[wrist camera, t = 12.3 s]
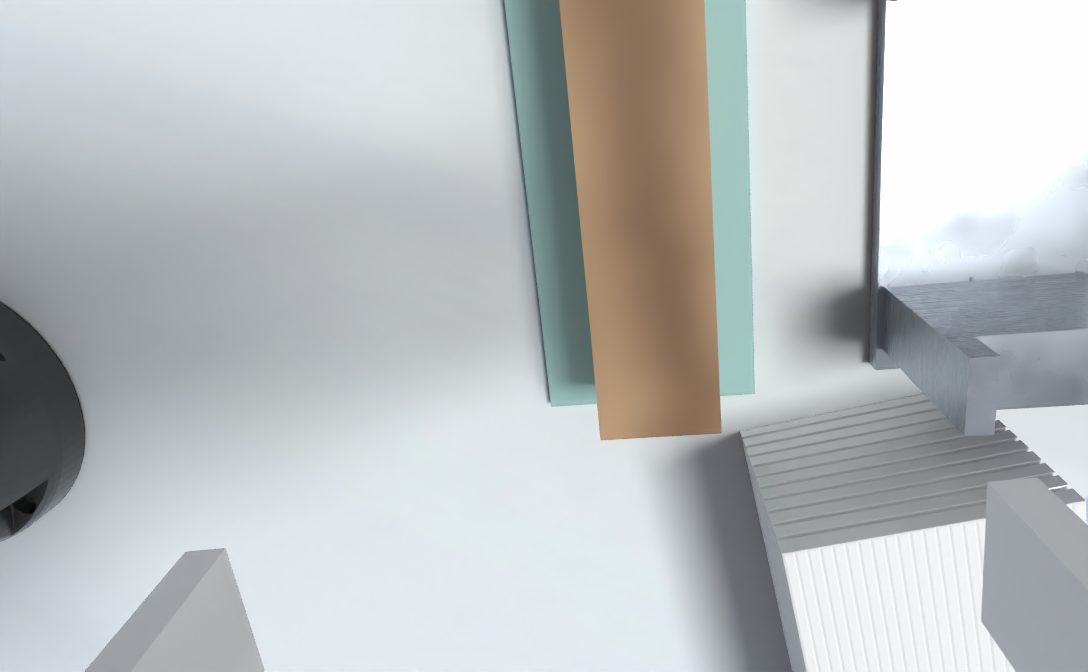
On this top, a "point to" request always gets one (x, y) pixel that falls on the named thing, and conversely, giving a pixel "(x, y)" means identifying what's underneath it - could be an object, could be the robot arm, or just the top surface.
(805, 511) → the stack of papers
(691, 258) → the rail
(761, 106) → the top surface
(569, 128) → the mat
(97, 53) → the top surface
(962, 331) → the standards
